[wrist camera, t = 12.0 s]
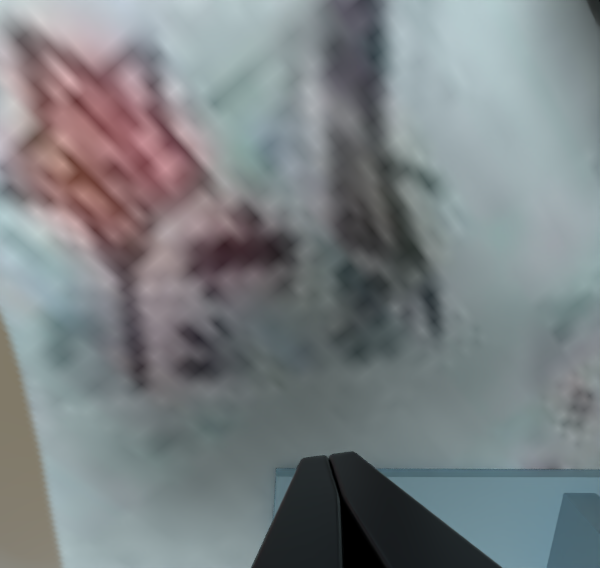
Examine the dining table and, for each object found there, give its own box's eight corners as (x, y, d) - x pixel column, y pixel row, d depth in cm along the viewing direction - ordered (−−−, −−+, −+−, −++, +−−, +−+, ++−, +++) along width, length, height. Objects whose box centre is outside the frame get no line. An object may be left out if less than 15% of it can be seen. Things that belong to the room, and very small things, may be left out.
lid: (600, 464, 25) (675, 533, 20) (572, 577, 26) (636, 664, 22) (275, 462, 23) (282, 537, 19) (267, 583, 25) (272, 678, 21)
